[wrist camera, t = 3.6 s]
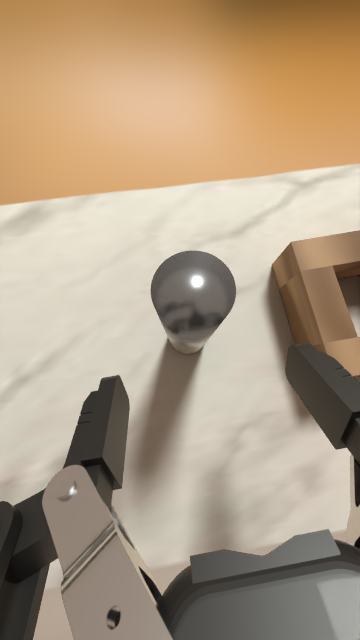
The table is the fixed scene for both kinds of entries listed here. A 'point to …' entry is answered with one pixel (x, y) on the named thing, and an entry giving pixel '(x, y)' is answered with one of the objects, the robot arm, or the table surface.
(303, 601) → the robot arm
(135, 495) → the table surface
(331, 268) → the wooden frame
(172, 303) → the steel rod
